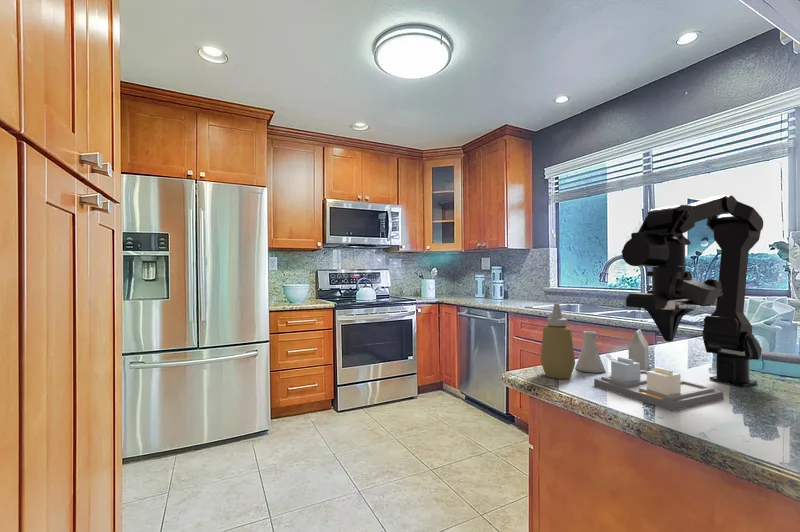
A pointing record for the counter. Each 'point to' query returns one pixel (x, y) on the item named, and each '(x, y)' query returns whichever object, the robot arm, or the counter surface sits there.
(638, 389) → the grey divided tray
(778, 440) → the counter surface
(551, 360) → the squeeze bottle
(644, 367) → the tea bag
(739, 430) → the counter surface
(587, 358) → the flask
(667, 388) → the tab ivory
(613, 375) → the tab blue
